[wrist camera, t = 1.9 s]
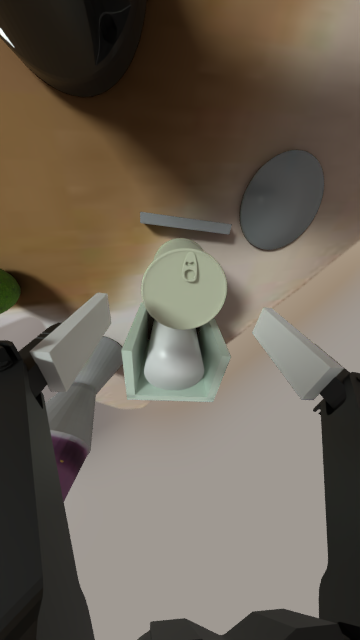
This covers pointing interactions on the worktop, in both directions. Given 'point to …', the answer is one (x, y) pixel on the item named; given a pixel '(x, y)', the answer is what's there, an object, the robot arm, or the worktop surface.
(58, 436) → the lamp
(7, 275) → the fruit
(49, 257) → the worktop surface
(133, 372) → the dispenser
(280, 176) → the coaster
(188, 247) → the can
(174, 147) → the worktop surface
